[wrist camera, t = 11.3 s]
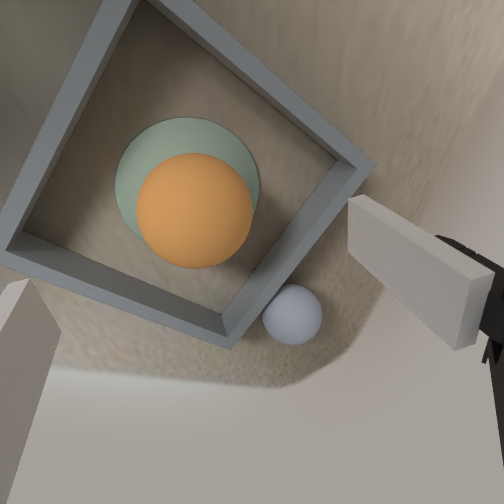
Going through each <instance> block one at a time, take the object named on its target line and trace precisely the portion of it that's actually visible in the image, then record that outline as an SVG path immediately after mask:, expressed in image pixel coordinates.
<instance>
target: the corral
mask: <svg viewBox="0 0 504 504" xmlns="http://www.w3.org/2000/svg"><path fill="white" fill-rule="evenodd" d="M139 1H140V0H103V2H102V4H101V6H100V8H99V10H98V12H97V14H96V16H95V18H94V20H93V22H92V24H91V27H90V29H89V31H88V33H87V35H86V37H85V39H84V41H83V43H82V45H81V47H80V49H79V51H78V53H77V55H76V57H75V60H74V62H73V64H72V66H71V68H70V70H69V72H68V74H67V76H66V78H65V80H64V82H63V84H62V86H61V88H60V91H59V93H58V95H57V97H56V99H55V101H54V103H53V105H52V107H51V109H50V111H49V113H48V115H47V117H46V119H45V122H44V124H43V126H42V128H41V130H40V132H39V134H38V136H37V138H36V140H35V142H34V144H33V146H32V148H31V150H30V153H29V155H28V157H27V159H26V161H25V163H24V165H23V167H22V169H21V171H20V173H19V175H18V177H17V179H16V181H15V184H14V186H13V188H12V190H11V192H10V194H9V196H8V198H7V200H6V202H5V204H4V206H3V208H2V210H1V212H0V265H2V266H5V267H7V268H10V269H13V270H15V271H18V272H21V273H23V274H26V275H29V276H32V277H34V278H37V279H40V280H42V281H45V282H48V283H50V284H53V285H56V286H59V287H61V288H64V289H67V290H69V291H72V292H75V293H77V294H80V295H83V296H85V297H88V298H91V299H94V300H96V301H99V302H102V303H104V304H107V305H110V306H112V307H115V308H118V309H121V310H123V311H126V312H129V313H131V314H134V315H137V316H139V317H142V318H145V319H148V320H150V321H153V322H156V323H158V324H161V325H164V326H166V327H169V328H172V329H174V330H177V331H180V332H183V333H185V334H188V335H191V336H193V337H196V338H199V339H201V340H204V341H207V342H210V343H212V344H215V345H218V346H220V347H223V348H226V349H228V350H231V349H232V348H233V347H234V346H235V344H236V343H237V342H238V340H239V339H240V338H241V337H242V335H243V334H244V333H245V332H246V330H247V329H248V328H249V326H250V325H251V324H252V323H253V321H254V320H255V319H256V318H257V316H258V315H259V314H260V312H261V311H262V310H263V309H264V307H265V306H266V305H267V304H268V302H269V301H270V300H271V298H272V297H273V296H274V295H275V293H276V292H277V291H278V290H279V288H280V287H281V286H282V284H283V283H284V282H285V281H286V279H287V278H288V277H289V276H290V274H291V273H292V272H293V270H294V269H295V268H296V267H297V265H298V264H299V263H300V262H301V260H302V259H303V258H304V256H305V255H306V254H307V253H308V251H309V250H310V249H311V248H312V246H313V245H314V244H315V242H316V241H317V240H318V239H319V237H320V236H321V235H322V234H323V232H324V231H325V230H326V228H327V227H328V226H329V225H330V223H331V222H332V221H333V220H334V218H335V217H336V216H337V214H338V213H339V212H340V211H341V209H342V208H343V207H344V205H345V204H346V203H347V202H348V198H351V197H352V195H353V194H354V193H355V191H356V190H357V189H358V188H359V186H360V185H361V184H362V183H363V181H364V180H365V179H366V177H367V176H368V175H369V174H370V172H371V171H372V170H373V169H374V167H375V166H376V164H375V163H374V162H373V161H372V160H371V159H370V158H368V157H367V156H366V155H365V154H364V153H363V152H362V151H361V150H359V149H358V148H357V147H356V146H355V145H354V144H353V143H352V142H351V141H349V140H348V139H347V138H346V137H345V136H344V135H343V134H342V133H340V132H339V131H338V130H337V129H336V128H335V127H334V126H333V125H332V124H330V123H329V122H328V121H327V120H326V119H325V118H324V117H323V116H321V115H320V114H319V113H318V112H317V111H316V110H315V109H314V108H313V107H311V106H310V105H309V104H308V103H307V102H306V101H305V100H304V99H302V98H301V97H300V96H299V95H298V94H297V93H296V92H295V91H293V90H292V89H291V88H290V87H289V86H288V85H287V84H286V83H285V82H283V81H282V80H281V79H280V78H279V77H278V76H277V75H276V74H274V73H273V72H272V71H271V70H270V69H269V68H268V67H267V66H266V65H264V64H263V63H262V62H261V61H260V60H259V59H258V58H257V57H255V56H254V55H253V54H252V53H251V52H250V51H249V50H248V49H246V48H245V47H244V46H243V45H242V44H241V43H240V42H239V41H238V40H236V39H235V38H234V37H233V36H232V35H231V34H230V33H229V32H227V31H226V30H225V29H224V28H223V27H222V26H221V25H220V24H219V23H217V22H216V21H215V20H214V19H213V18H212V17H211V16H210V15H208V14H207V13H206V12H205V11H204V10H203V9H202V8H201V7H199V6H198V5H197V4H196V3H195V2H194V1H193V0H147V1H148V2H149V3H150V4H151V5H153V6H154V7H155V8H156V9H157V10H159V11H160V12H161V13H162V14H163V15H165V16H166V17H167V18H168V19H169V20H171V21H172V22H173V23H174V24H175V25H177V26H178V27H179V28H180V29H181V30H183V31H184V32H185V33H186V34H187V35H189V36H190V37H191V38H192V39H193V40H195V41H196V42H197V43H198V44H199V45H201V46H202V47H203V48H204V49H205V50H207V51H208V52H209V53H210V54H211V55H213V56H214V57H215V58H216V59H217V60H219V61H220V62H221V63H222V64H223V65H225V66H226V67H227V68H228V69H229V70H231V71H232V72H233V73H234V74H235V75H237V76H238V77H239V78H240V79H241V80H243V81H244V82H245V83H246V84H247V85H249V86H250V87H251V88H252V89H253V90H254V91H256V92H257V93H258V94H259V95H260V96H262V97H263V98H264V99H265V100H266V101H268V102H269V103H270V104H271V105H272V106H274V107H275V108H276V109H277V110H278V111H280V112H281V113H282V114H283V115H284V116H286V117H287V118H288V119H289V120H290V121H292V122H293V123H294V124H295V125H296V126H298V127H299V128H300V129H301V130H302V131H304V132H305V133H306V134H307V135H308V136H310V137H311V138H312V139H313V140H314V141H316V142H317V143H318V144H319V145H320V146H322V147H323V148H324V149H325V150H326V151H328V152H329V153H330V154H331V155H332V156H334V157H335V158H336V159H337V161H336V162H335V163H334V165H333V166H332V167H331V169H330V170H329V171H328V173H327V174H326V175H325V177H324V178H323V180H322V181H321V182H320V184H319V185H318V186H317V188H316V189H315V190H314V192H313V193H312V194H311V196H310V197H309V198H308V200H307V201H306V202H305V204H304V205H303V206H302V208H301V209H300V210H299V212H298V213H297V214H296V216H295V217H294V218H293V220H292V221H291V222H290V224H289V225H288V226H287V228H286V229H285V230H284V232H283V233H282V234H281V236H280V237H279V238H278V240H277V241H276V242H275V244H274V245H273V246H272V248H271V249H270V250H269V252H268V253H267V254H266V256H265V257H264V258H263V260H262V261H261V262H260V264H259V265H258V266H257V268H256V269H255V270H254V272H253V273H252V274H251V276H250V277H249V278H248V280H247V281H246V282H245V284H244V285H243V286H242V288H241V289H240V290H239V292H238V293H237V294H236V296H235V297H234V298H233V300H232V301H231V302H230V304H229V305H228V306H227V308H226V309H225V310H224V312H223V313H222V314H221V315H220V314H218V313H216V312H213V311H211V310H209V309H206V308H204V307H202V306H199V305H197V304H194V303H192V302H190V301H187V300H185V299H183V298H180V297H178V296H176V295H173V294H171V293H168V292H166V291H164V290H161V289H159V288H157V287H154V286H152V285H150V284H147V283H145V282H142V281H140V280H138V279H135V278H133V277H131V276H128V275H126V274H124V273H121V272H119V271H116V270H114V269H112V268H109V267H107V266H105V265H102V264H100V263H97V262H95V261H93V260H90V259H88V258H86V257H83V256H81V255H79V254H76V253H74V252H71V251H69V250H67V249H64V248H62V247H60V246H57V245H55V244H53V243H50V242H48V241H45V240H43V239H41V238H38V237H36V236H34V235H31V234H29V233H27V232H24V231H22V230H23V228H24V226H25V224H26V222H27V220H28V218H29V216H30V214H31V212H32V210H33V209H34V207H35V205H36V203H37V201H38V199H39V197H40V195H41V193H42V191H43V189H44V187H45V185H46V183H47V181H48V179H49V177H50V175H51V173H52V171H53V169H54V167H55V166H56V164H57V162H58V160H59V158H60V156H61V154H62V152H63V150H64V148H65V146H66V144H67V142H68V140H69V138H70V136H71V134H72V132H73V130H74V128H75V126H76V124H77V123H78V121H79V119H80V117H81V115H82V113H83V111H84V109H85V107H86V105H87V103H88V101H89V99H90V97H91V95H92V93H93V91H94V89H95V87H96V85H97V83H98V81H99V80H100V78H101V76H102V74H103V72H104V70H105V68H106V66H107V64H108V62H109V60H110V58H111V56H112V54H113V52H114V50H115V48H116V46H117V44H118V42H119V40H120V38H121V37H122V35H123V33H124V31H125V29H126V27H127V25H128V23H129V21H130V19H131V17H132V15H133V13H134V11H135V9H136V7H137V5H138V3H139Z"/></svg>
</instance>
